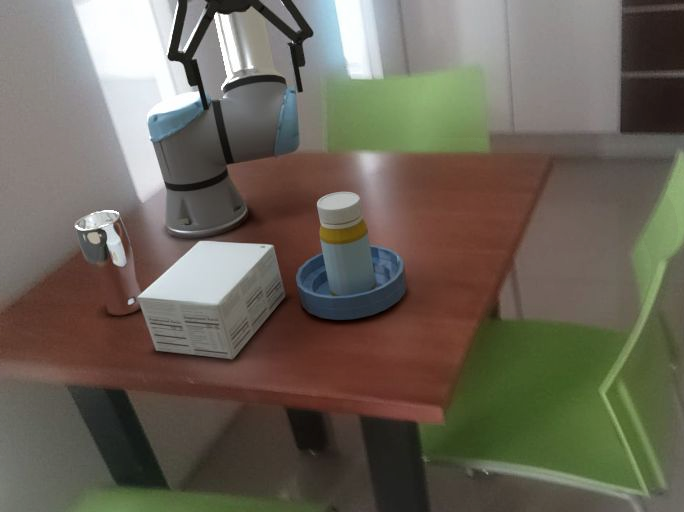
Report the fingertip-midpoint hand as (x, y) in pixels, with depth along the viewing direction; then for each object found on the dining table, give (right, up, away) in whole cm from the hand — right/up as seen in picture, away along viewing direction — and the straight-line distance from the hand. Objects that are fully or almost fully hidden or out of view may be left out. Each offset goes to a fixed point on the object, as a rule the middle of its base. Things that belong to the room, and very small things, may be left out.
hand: (253, 98), depth 114 cm
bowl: (+14, -28, +6) cm, 32 cm away
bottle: (+14, -28, +6) cm, 32 cm away
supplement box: (-5, -33, +4) cm, 33 cm away
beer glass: (-22, -30, +11) cm, 39 cm away
